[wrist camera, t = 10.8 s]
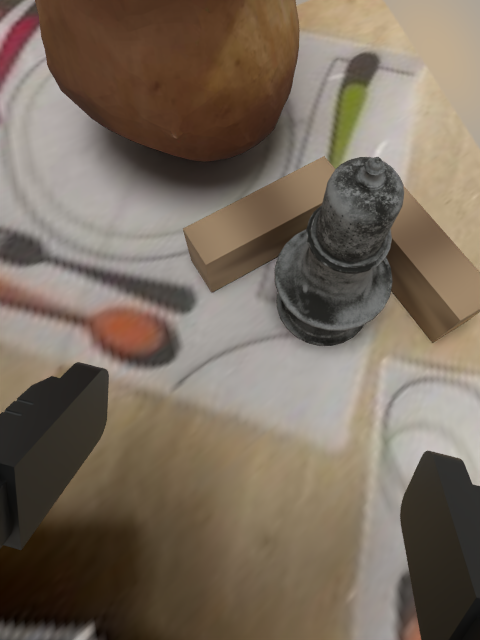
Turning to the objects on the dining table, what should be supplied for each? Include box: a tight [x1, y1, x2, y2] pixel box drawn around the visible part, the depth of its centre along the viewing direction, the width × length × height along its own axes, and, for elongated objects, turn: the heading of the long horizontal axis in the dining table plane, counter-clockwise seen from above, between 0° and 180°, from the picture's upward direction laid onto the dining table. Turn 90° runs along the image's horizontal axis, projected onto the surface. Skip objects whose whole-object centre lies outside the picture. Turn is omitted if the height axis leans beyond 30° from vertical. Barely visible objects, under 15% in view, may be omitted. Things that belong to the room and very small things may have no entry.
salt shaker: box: [275, 157, 404, 346], centre depth 20 cm, size 6×6×12 cm
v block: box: [183, 156, 480, 343], centre depth 25 cm, size 8×16×4 cm, turn 76°
